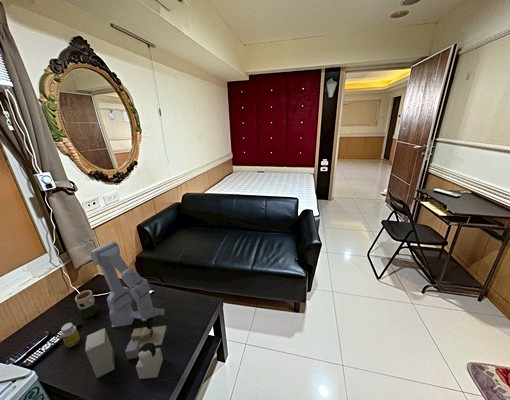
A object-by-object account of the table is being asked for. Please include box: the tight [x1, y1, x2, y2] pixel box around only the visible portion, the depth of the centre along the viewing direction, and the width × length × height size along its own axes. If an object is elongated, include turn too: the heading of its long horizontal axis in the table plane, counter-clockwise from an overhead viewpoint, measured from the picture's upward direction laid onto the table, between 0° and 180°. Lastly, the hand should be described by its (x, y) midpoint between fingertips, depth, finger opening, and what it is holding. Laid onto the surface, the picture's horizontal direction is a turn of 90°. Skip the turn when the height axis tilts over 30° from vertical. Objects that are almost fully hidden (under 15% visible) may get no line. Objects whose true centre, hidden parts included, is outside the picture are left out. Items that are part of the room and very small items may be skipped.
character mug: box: [74, 289, 98, 319], centre depth 112 cm, size 11×7×13 cm, turn 70°
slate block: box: [124, 342, 140, 360], centre depth 93 cm, size 4×4×5 cm
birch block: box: [130, 326, 153, 342], centre depth 100 cm, size 4×4×8 cm
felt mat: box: [129, 325, 167, 348], centre depth 101 cm, size 15×10×1 cm, turn 99°
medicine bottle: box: [135, 343, 164, 380], centre depth 86 cm, size 7×7×12 cm
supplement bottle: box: [60, 322, 81, 348], centre depth 98 cm, size 5×5×10 cm
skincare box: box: [85, 327, 116, 379], centre depth 87 cm, size 8×7×16 cm
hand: (150, 327), depth 99 cm, fingers closed
